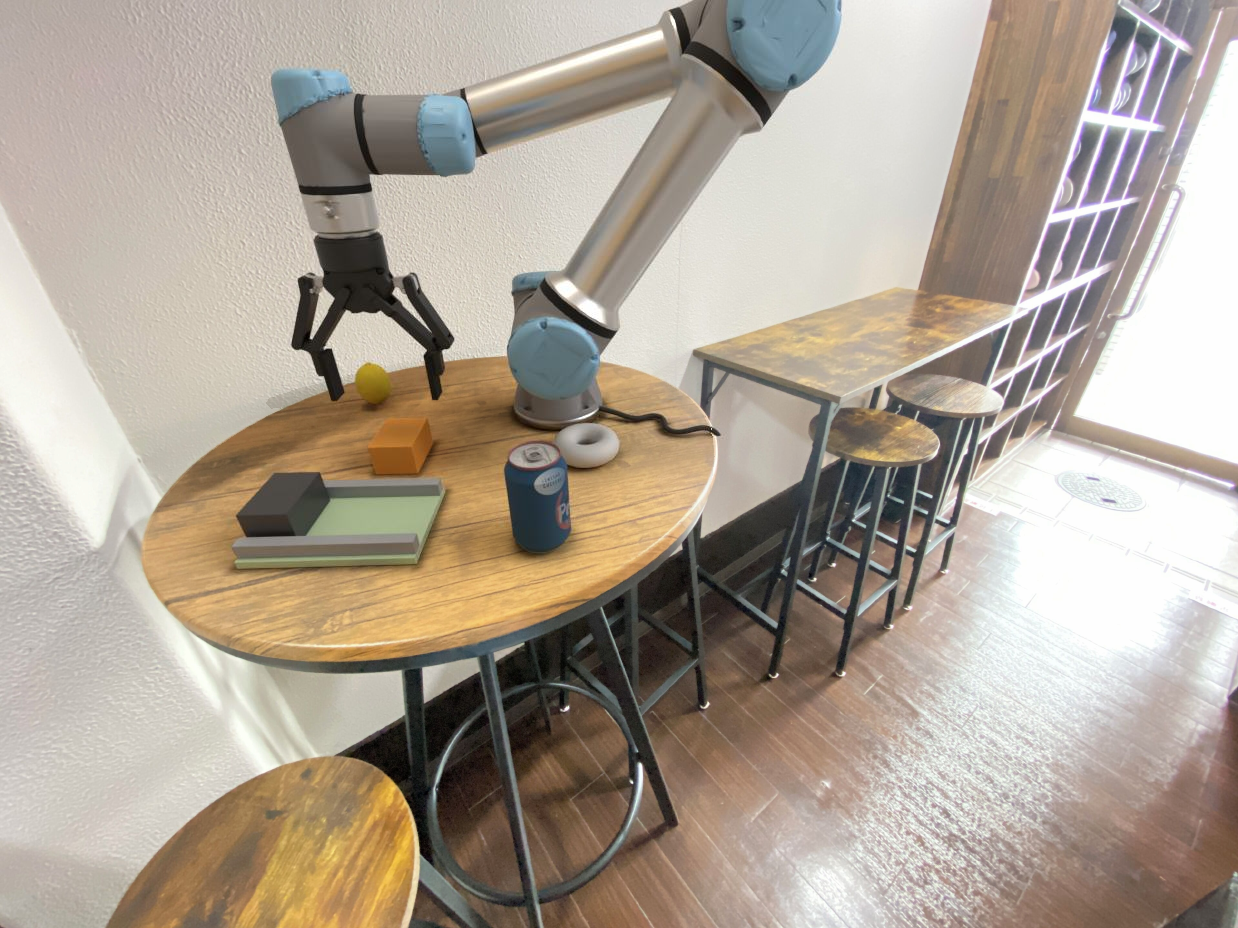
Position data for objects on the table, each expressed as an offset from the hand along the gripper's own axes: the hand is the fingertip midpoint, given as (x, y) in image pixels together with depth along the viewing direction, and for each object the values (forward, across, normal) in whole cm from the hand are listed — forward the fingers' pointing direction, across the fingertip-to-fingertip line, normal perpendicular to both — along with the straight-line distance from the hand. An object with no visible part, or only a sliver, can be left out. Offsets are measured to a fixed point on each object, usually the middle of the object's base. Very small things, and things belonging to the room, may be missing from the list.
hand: (388, 396), depth 74 cm
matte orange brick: (+10, 0, 0) cm, 10 cm away
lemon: (+10, -10, +18) cm, 23 cm away
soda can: (+10, +22, -19) cm, 31 cm away
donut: (+10, +27, 0) cm, 29 cm away
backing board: (+10, -2, -16) cm, 19 cm away
